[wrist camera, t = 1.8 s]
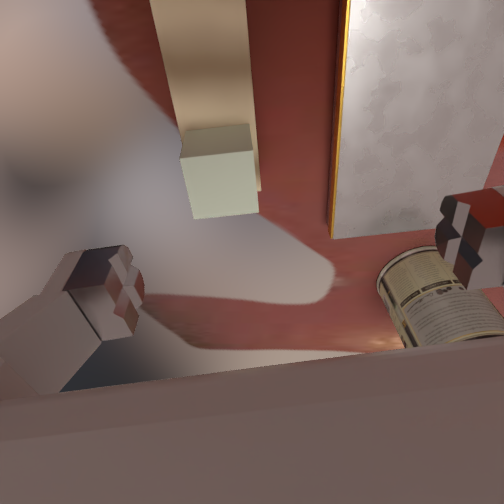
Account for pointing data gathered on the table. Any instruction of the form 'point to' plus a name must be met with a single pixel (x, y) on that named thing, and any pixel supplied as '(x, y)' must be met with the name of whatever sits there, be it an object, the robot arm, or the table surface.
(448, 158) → the dock
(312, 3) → the table surface
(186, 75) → the checkered beige brown block
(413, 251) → the coffee can
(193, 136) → the pale green cube
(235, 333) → the table surface
